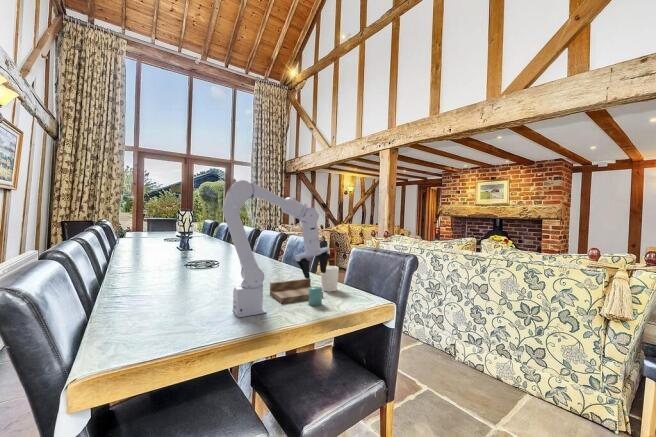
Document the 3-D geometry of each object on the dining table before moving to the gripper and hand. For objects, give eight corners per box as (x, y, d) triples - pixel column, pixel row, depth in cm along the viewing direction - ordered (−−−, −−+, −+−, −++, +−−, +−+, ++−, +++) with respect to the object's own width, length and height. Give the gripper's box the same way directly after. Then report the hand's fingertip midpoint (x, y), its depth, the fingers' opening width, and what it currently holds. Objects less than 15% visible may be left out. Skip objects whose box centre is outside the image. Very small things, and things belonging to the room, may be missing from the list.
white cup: (338, 287, 129) (339, 266, 129) (337, 292, 121) (338, 269, 121) (321, 286, 130) (322, 265, 130) (319, 291, 122) (319, 268, 122)
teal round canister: (312, 307, 102) (312, 290, 102) (305, 303, 107) (306, 287, 106) (324, 305, 105) (324, 289, 105) (317, 301, 109) (317, 285, 109)
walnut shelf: (281, 303, 105) (281, 290, 105) (269, 294, 115) (270, 282, 115) (322, 297, 115) (323, 284, 114) (309, 289, 125) (309, 278, 125)
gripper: (301, 244, 97) (305, 282, 98) (333, 236, 106) (337, 271, 107) (290, 242, 102) (294, 279, 104) (321, 235, 111) (325, 269, 113)
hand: (315, 275), depth 106 cm, fingers open, 7 cm apart
